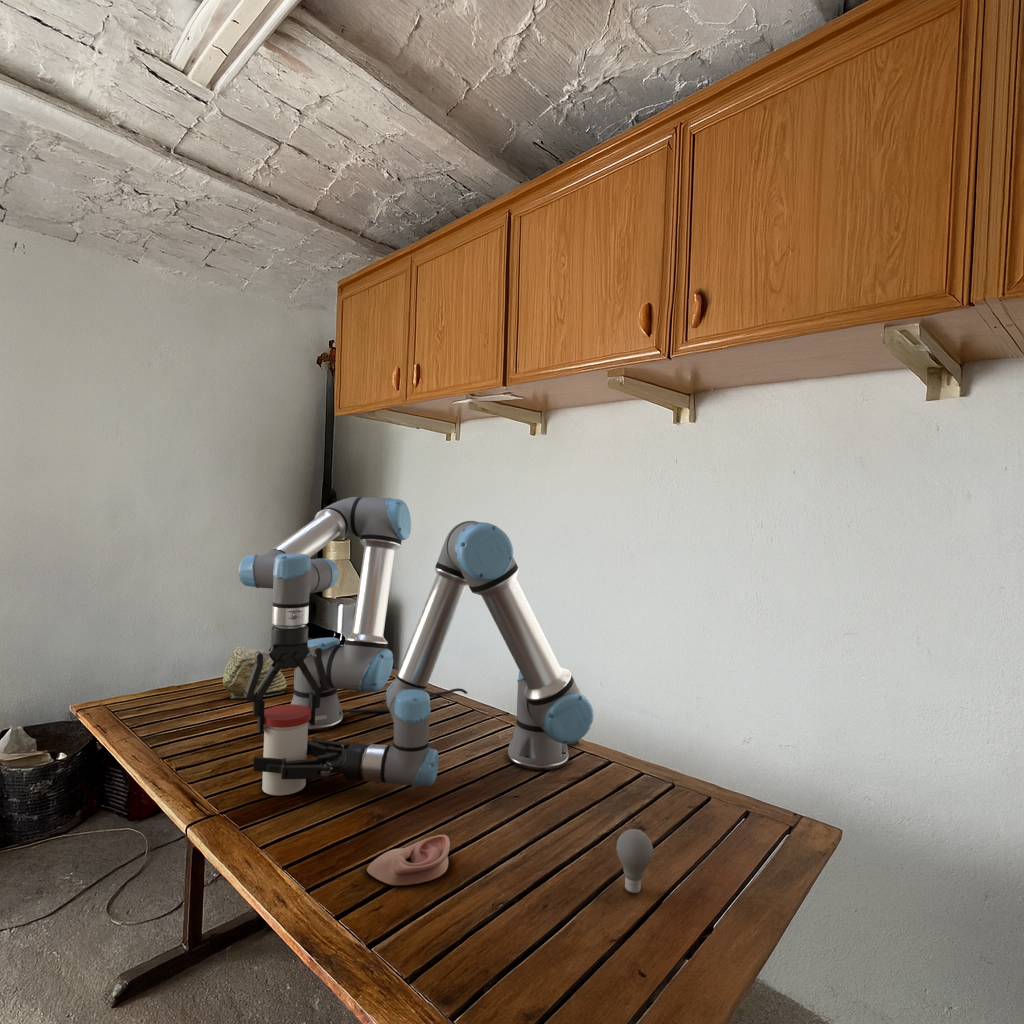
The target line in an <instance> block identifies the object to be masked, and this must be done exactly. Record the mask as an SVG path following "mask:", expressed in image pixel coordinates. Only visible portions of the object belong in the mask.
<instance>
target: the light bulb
mask: <svg viewBox="0 0 1024 1024" xmlns="http://www.w3.org/2000/svg"><path fill="white" fill-rule="evenodd" d="M615 849H616V854H617V857H618V859H619V861H620V863H621V865H622V867H623V873H624V874H623V875H624V876H625V878H624V888H625V890H627V891H628V892H630V893H634V894H635V893H639V892H640V891H641V889H642V887H641V886H642V879H643V877H644V875H645V871H646V868H647V867H648V866H649V864H650V863H651V861H652V859H653V855H654V847H653V843H652V841H651V838H649V836H648V835H647V834H646V833H645V832H643V831H642V830H641V829H636V828H629V829H627V830H625V831H623V832H622V833H621V834H620V835H619V837H618V839H617V841H616V847H615Z"/></svg>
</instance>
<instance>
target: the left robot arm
mask: <svg viewBox="0 0 1024 1024" xmlns="http://www.w3.org/2000/svg"><path fill="white" fill-rule="evenodd" d="M411 531H412V517H411V512H410V509H409V507H408V505H407V503H406V502H405V501H404V500H402V499H399V498H391V497H368V496H367V497H366V496H365V497H364V496H363V497H362V496H352V497H351V496H350V497H348V498H343V499H340V500H338V501H336V502H333V503H331V504H329V505H328V506H326V507H324V508H323V509H321V510H320V511H318V512H316V514H315V516H314V519H312V521H310V522H308V523H307V524H306V525H304V526H303V527H301V528H300V529H298V530H297V531H295V532H294V533H293V534H291V535H290V536H288V537H287V538H285V539H284V540H282V541H281V542H280V543H278V544H276V545H275V546H274V547H273V548H271V549H269V550H268V551H267V552H265V553H264V554H261V555H259V554H250V555H249V554H248V555H246V556H245V557H243V558H242V559H241V561H240V562H239V565H238V579H239V581H240V583H241V584H242V585H243V586H246V587H251V588H256V589H270V590H271V589H272V607H271V608H272V610H271V624H272V625H273V626H272V627H271V634H270V648H269V649H268V650H267V651H264V652H259V651H257V652H255V664H254V666H253V669H252V672H251V675H250V678H249V681H248V684H247V687H246V690H245V693H244V697H245V698H244V699H246V701H248V702H249V701H251V702H252V714H253V717H254V718H257V721H256V722H257V723H256V729H257V731H258V733H259V734H264V726H265V725H264V710H265V703H266V702H265V700H264V699H263V698H264V697H263V696H264V694H265V693H266V691H267V689H268V688H269V686H270V684H271V683H272V681H273V680H274V678H275V676H276V675H277V674H278V673H279V671H280V672H281V671H283V670H287V669H294V672H293V695H292V696H293V697H292V699H291V702H290V704H294V705H303V706H307V707H309V708H310V709H311V719H310V721H308V733H316V732H325V731H329V730H332V729H335V728H337V727H339V726H340V725H342V723H343V722H344V714H343V713H378V714H379V713H380V714H382V713H390V711H389V709H388V708H386V709H384V708H383V709H374V708H373V709H370V708H369V709H367V708H365V709H361V708H360V709H359V708H358V709H357V708H348V709H347V708H345V709H343V708H342V706H341V702H340V699H339V695H338V689H339V690H347V691H354V692H356V691H357V692H360V693H366V692H367V693H377V692H379V691H381V690H382V689H383V688H384V687H385V685H386V684H387V683H388V681H389V679H390V676H391V674H392V670H393V666H394V654H393V651H392V650H390V649H389V648H388V644H389V642H388V641H387V639H385V637H384V635H385V634H384V632H385V627H386V626H385V625H386V618H387V611H388V605H389V597H390V589H391V584H392V583H391V582H392V574H393V568H394V567H393V566H394V561H395V553H396V551H398V550H399V549H400V548H401V547H402V542H403V541H405V540H408V539H409V537H410V534H411V533H412V532H411ZM346 537H356V538H360V539H359V543H360V544H361V546H362V547H363V548H364V549H363V556H362V563H361V570H360V576H359V582H358V590H357V597H356V603H355V609H354V616H353V623H352V628H351V633H350V634H349V635H348V636H347V637H345V639H344V644H343V645H342V644H340V643H341V641H340V639H339V638H338V637H334V636H333V637H318V638H313V639H309V626H308V625H307V624H309V612H310V595H311V594H314V593H319V592H324V591H327V590H328V589H331V588H333V587H334V585H336V584H337V582H338V580H339V577H340V573H339V572H340V571H339V567H338V566H337V564H336V563H335V561H333V560H332V559H329V558H325V557H324V558H323V557H322V558H321V557H318V558H312V557H313V556H315V555H316V554H317V553H318V552H320V551H321V550H323V548H325V547H326V546H327V545H328V544H330V543H331V542H336V541H339V540H341V539H343V538H346ZM268 657H269V658H271V659H272V660H273V662H272V664H271V666H270V668H269V670H268V672H267V674H266V675H265V677H264V679H263V680H262V682H261V683H260V685H259V687H258V688H257V690H256V692H255V693H254V691H255V688H256V685H257V682H258V679H259V676H260V673H261V670H262V667H263V663H264V662H266V659H267V658H268ZM453 692H454V693H455V692H461V693H463V694H464V695H467V694H468V691H467V690H465V689H463V688H460V687H459V688H457V687H456V688H452V689H448V690H445V691H438V692H427V693H428V694H429V696H430V697H433V696H442V695H444V696H445V695H447V694H451V693H453Z"/></svg>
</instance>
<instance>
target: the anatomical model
mask: <svg viewBox="0 0 1024 1024" xmlns="http://www.w3.org/2000/svg"><path fill="white" fill-rule="evenodd" d="M450 849H451V843H450V838H449V836H448V835H446V834H437V835H434V836H430V837H426V838H423V839H421V840H419V841H417V842H415V843H413V844H410V845H408V846H406V847H403V848H402V847H400V848H394V849H390V850H388V851H386V852H384V853H382V854H381V855H379V856H378V857H376V858H375V859H374V860H373V861H371V862H370V864H369V865H368V866H367V868H366V872H367V873H368V874H369V875H370V876H371V877H373V878H374V879H376V880H378V881H379V882H382V883H384V884H386V885H389V886H410V885H415V884H421V883H425V882H430V881H432V880H435V879H437V878H439V877H441V876H443V874H445V873H446V872H447V870H448V868H449V857H448V855H449V853H450Z"/></svg>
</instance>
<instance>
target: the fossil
mask: <svg viewBox="0 0 1024 1024" xmlns="http://www.w3.org/2000/svg"><path fill="white" fill-rule="evenodd" d="M257 651H259V652H265V650H264V649H263V648H260V647H258V648H251V647H247V646H246V647H245V646H238V647H237V648H236V649H235V650H233V651H232V653H231V656H230V657H229V659H228V660H227V663H226V666H225V668H224V671H223V675H222V676H223V677H222V685H223V687H224V688H225V690H226V691H228V693H229V698H230V699H246V698H245V697H244V693H245V690H246V687H247V684H248V681H249V678H250V675H251V672H252V669H253V666H254V664H255V652H257ZM272 662H273V660H272V659H271V658H270V657H268V658H267V659H266V662H264V663H263V667H262V670H261V673H260V676H259V679H258V682H257V685H256V688H255V691H254V693H255V692H256V690H257V688H258V687H259V685H260V683H261V682H262V680H263V679H264V677H265V675H266V674H267V672H268V670H269V668H270V666H271V664H272ZM287 687H288V686H287V680H286V678H285V676H284V674H283V673H282V672H281V670H280V671H279V673H278V674H277V675H276V676H275V678H274V680H273V681H272V683H271V684H270V686H269V688H268V689H267V691H266V693H265V694H264V696H263V698H264V697H271V696H275V695H281V694H284V693H285V691H286V689H287Z"/></svg>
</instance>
